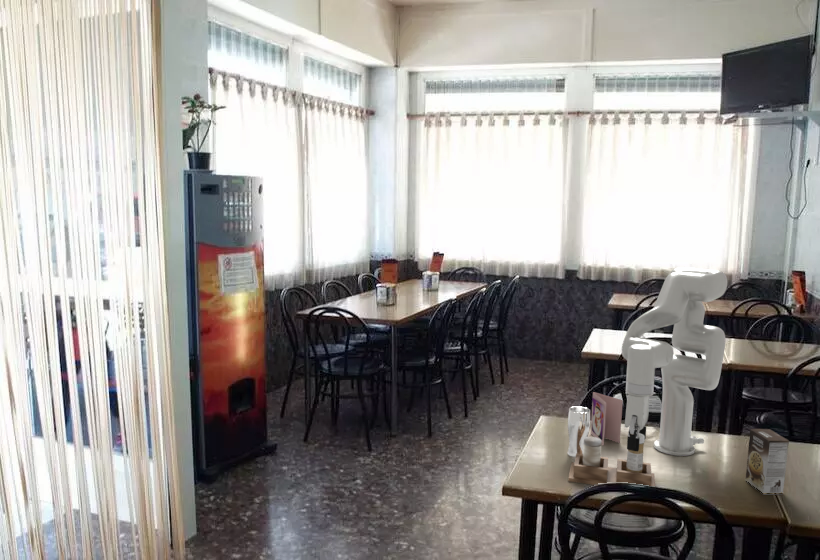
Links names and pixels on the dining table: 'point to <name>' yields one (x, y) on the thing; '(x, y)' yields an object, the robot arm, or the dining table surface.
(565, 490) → the dining table surface
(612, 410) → the greeting card
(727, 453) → the dining table surface
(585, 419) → the silver metal can
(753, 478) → the coffee box
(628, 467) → the sprinkles bottle
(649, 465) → the condiment rack
